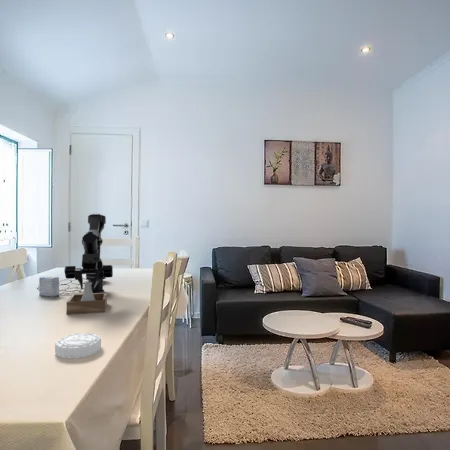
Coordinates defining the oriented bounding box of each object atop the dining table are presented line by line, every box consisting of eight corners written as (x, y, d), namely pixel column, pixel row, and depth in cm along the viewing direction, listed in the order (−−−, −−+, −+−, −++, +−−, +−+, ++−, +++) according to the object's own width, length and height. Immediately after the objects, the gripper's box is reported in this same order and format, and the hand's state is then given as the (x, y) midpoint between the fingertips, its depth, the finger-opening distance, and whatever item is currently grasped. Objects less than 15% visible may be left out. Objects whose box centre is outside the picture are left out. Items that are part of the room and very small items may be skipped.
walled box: (72, 305, 146) (72, 294, 146) (106, 303, 150) (106, 292, 149) (66, 314, 132) (66, 302, 132) (104, 312, 136) (104, 300, 136)
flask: (97, 308, 139) (97, 283, 139) (77, 309, 136) (78, 284, 136) (97, 304, 146) (97, 280, 145) (79, 305, 143) (79, 281, 143)
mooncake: (106, 343, 104) (106, 331, 104) (92, 359, 92) (92, 346, 92) (66, 343, 103) (66, 331, 103) (46, 359, 91) (46, 346, 91)
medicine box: (59, 295, 164) (59, 277, 164) (51, 297, 160) (52, 278, 159) (46, 293, 166) (46, 275, 166) (38, 295, 162) (39, 277, 162)
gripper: (65, 246, 142) (60, 277, 131) (112, 246, 147) (111, 276, 136) (68, 263, 149) (63, 293, 139) (113, 262, 154) (111, 291, 144)
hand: (87, 288), depth 139 cm, fingers open, 4 cm apart
